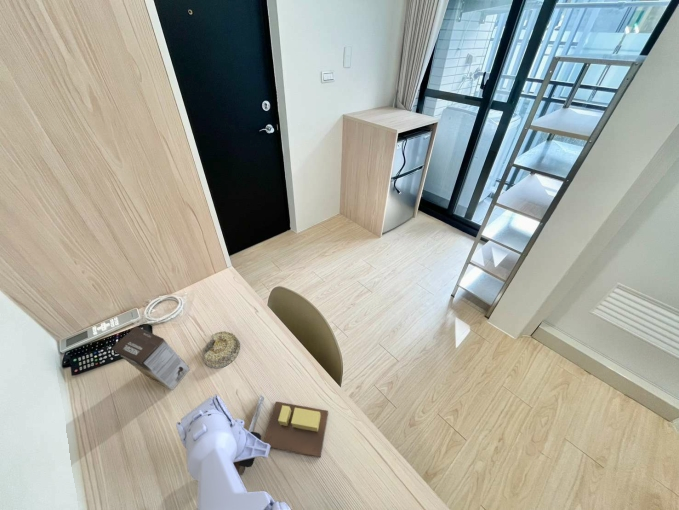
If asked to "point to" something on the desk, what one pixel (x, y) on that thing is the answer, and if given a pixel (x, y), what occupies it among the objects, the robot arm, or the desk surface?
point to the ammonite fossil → (221, 350)
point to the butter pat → (284, 415)
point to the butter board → (295, 433)
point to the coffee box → (152, 357)
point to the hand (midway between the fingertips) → (242, 452)
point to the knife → (240, 468)
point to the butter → (306, 419)
